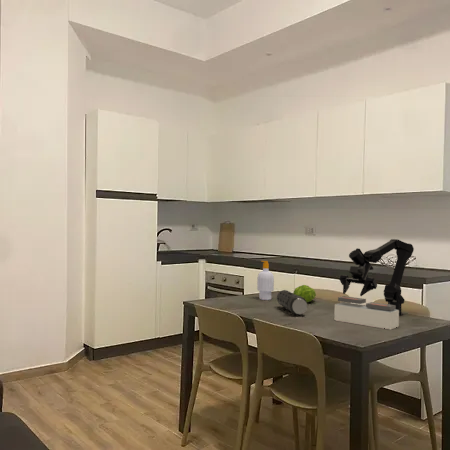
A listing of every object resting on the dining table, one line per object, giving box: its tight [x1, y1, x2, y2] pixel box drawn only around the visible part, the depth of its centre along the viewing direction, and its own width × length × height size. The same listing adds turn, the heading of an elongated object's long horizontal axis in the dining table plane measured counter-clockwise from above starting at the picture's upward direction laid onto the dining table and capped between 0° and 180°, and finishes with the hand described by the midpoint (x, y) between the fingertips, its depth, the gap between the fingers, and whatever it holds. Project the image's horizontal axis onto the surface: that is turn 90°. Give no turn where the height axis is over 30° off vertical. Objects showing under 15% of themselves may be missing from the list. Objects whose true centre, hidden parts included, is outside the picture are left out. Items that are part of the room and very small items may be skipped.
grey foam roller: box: [276, 289, 308, 316], centre depth 260 cm, size 10×28×10 cm, turn 10°
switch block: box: [333, 302, 400, 331], centre depth 232 cm, size 9×29×8 cm, turn 47°
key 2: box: [365, 301, 396, 311], centre depth 227 cm, size 6×12×2 cm, turn 47°
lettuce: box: [292, 284, 317, 303], centre depth 297 cm, size 12×24×13 cm
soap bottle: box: [256, 260, 275, 301], centre depth 301 cm, size 10×10×24 cm
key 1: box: [337, 295, 367, 305], centre depth 237 cm, size 6×12×2 cm, turn 47°
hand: (352, 294), depth 237 cm, fingers open, 9 cm apart
